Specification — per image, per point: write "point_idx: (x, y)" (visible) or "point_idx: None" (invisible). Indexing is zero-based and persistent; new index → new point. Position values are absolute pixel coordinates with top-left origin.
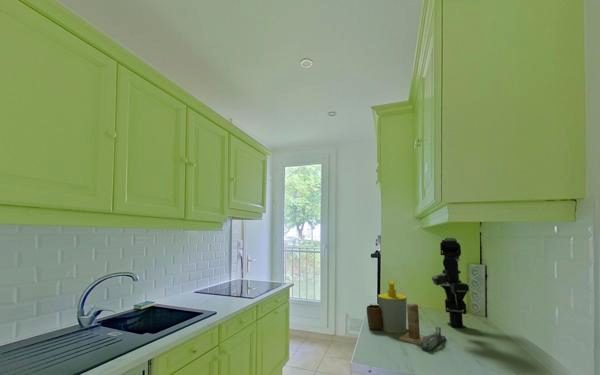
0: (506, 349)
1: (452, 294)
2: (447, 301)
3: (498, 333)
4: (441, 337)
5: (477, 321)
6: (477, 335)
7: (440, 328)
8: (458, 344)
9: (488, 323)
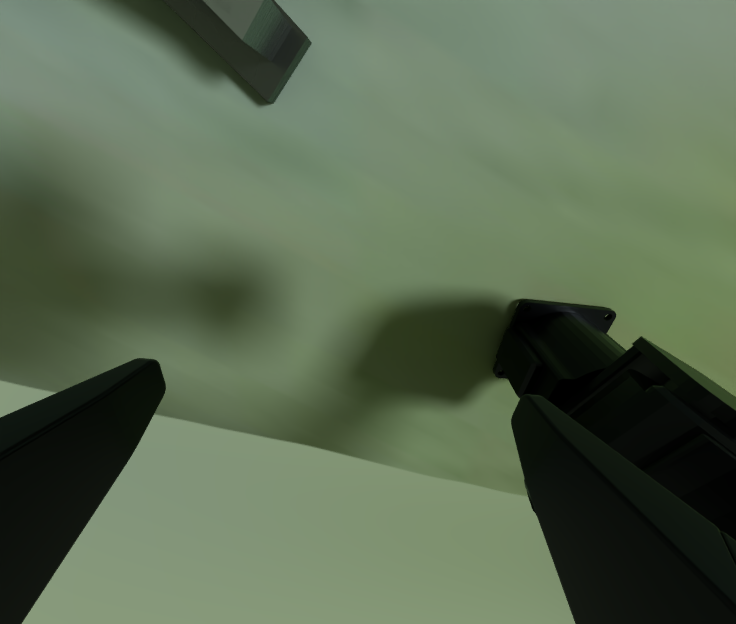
0: None
1: (571, 598)
2: (690, 429)
3: (382, 450)
4: (230, 37)
5: None
6: (356, 357)
7: (230, 27)
8: (163, 147)
9: None
